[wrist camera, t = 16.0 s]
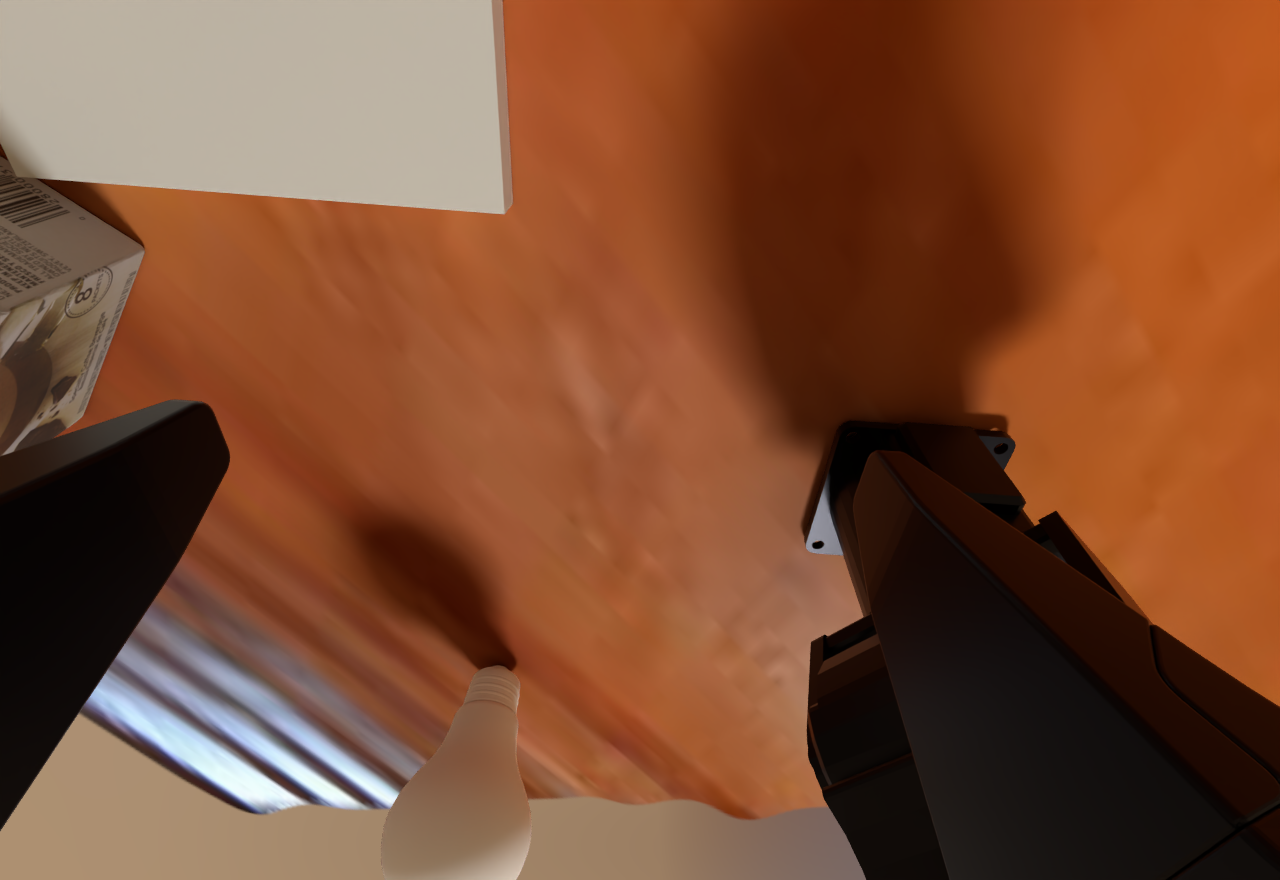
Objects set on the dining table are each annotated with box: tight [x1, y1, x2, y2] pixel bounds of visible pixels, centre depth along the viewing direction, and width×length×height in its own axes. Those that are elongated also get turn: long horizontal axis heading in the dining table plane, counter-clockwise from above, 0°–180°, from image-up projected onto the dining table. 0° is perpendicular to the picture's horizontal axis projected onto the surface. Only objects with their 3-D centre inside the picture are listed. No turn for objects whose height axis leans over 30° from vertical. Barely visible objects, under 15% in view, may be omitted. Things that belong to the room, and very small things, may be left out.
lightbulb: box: [381, 665, 531, 880], centre depth 28 cm, size 6×6×11 cm
